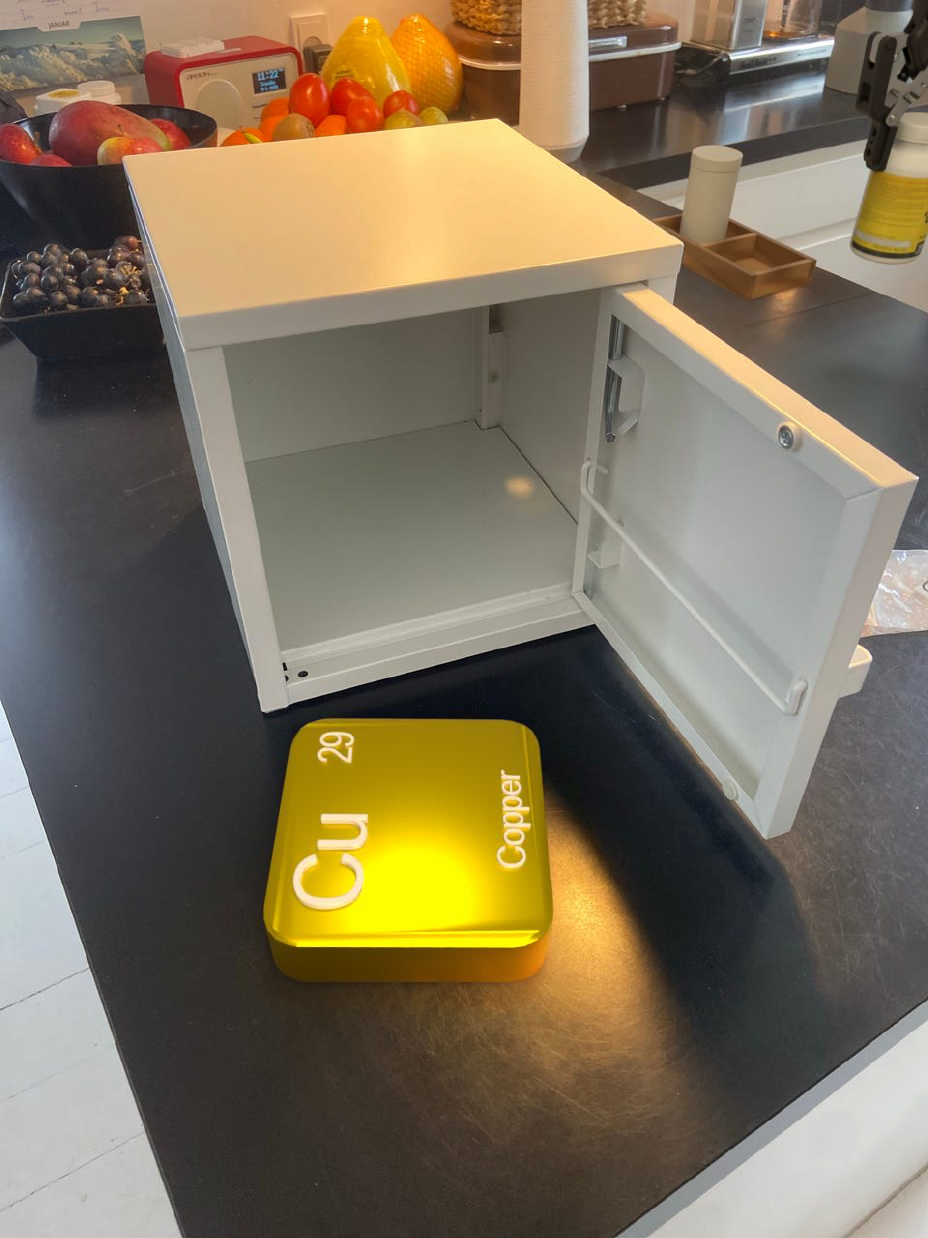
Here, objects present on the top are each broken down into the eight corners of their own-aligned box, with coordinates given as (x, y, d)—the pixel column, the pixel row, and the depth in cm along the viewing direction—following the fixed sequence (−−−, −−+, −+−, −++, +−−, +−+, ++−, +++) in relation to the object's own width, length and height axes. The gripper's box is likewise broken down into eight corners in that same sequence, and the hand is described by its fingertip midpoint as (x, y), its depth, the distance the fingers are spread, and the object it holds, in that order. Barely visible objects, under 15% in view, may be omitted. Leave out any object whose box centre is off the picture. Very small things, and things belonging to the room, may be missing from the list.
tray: (703, 233, 128) (708, 207, 125) (809, 287, 115) (817, 259, 113) (642, 246, 124) (646, 219, 122) (745, 304, 111) (752, 275, 109)
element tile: (550, 985, 48) (558, 941, 45) (266, 985, 48) (254, 940, 45) (533, 760, 59) (538, 712, 56) (301, 759, 59) (293, 710, 56)
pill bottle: (909, 272, 84) (956, 134, 76) (838, 257, 86) (877, 121, 78) (926, 250, 88) (972, 116, 80) (858, 236, 90) (896, 105, 82)
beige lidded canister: (702, 237, 125) (720, 142, 117) (732, 253, 121) (753, 156, 113) (666, 245, 123) (682, 149, 115) (696, 261, 119) (715, 163, 111)
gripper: (927, -56, 67) (858, 185, 78) (1099, -60, 69) (1008, 175, 80) (873, -69, 72) (816, 159, 83) (1034, -73, 74) (957, 150, 86)
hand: (910, 166), depth 82 cm, fingers closed on pill bottle, 6 cm apart
